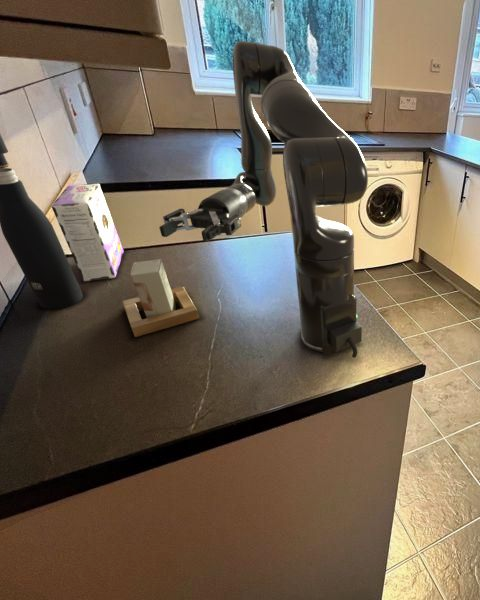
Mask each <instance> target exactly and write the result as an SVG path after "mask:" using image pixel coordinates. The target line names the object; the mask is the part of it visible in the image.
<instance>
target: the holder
mask: <svg viewBox="0 0 480 600" xmlns="http://www.w3.org/2000/svg"><path fill="white" fill-rule="evenodd" d="M171 291H172V295H173V298H174V301H175V303H176V302H177V303H178V305H179V307H180V308H179V309H176V310H175V311H172V312H168V313H165V314H161V315H157V316H154V317H150V318H147V317H146V318H143V319H142V317H141V314H140V312H141V311H144V309H143V306H142V304H141V301H140V299H139V296H137V297H133V298H128V299H125V300H122V305H123V308H124V311H125V314H126V317H127V319H128V322H129V325H130V329H131V331H132V333H133V336H134V338H137V337H141V336H143V335H144V336H145V335H148V334H150V333H154V332H155V333H156V332H159V331H161V330H165V329H169V328H171V327H176V326H179V325H182V324H185V323H189V322H192V321H196V320H199V319H200V316H199V312H198V309H197V307H196V306H195V304H194V302H193V301H192V299H191V298H190V295H189V294H188V292H187V290H186V289H185V287H184V286H182V285H181V286H177V287H174V288H171Z"/></svg>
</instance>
